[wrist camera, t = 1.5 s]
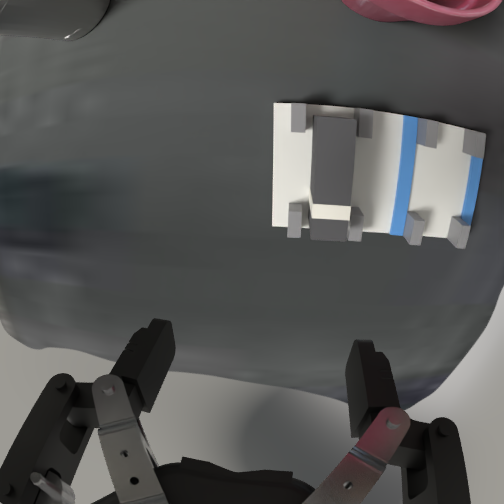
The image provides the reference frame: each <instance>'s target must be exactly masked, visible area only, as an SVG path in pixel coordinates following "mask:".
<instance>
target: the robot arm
mask: <svg viewBox="0 0 504 504" xmlns="http://www.w3.org/2000/svg"><path fill="white" fill-rule="evenodd" d="M109 2H110V0H0V36H17V37H32V38H44V39H53V40H61V41H72V40H76V39H79V38H81V37H83V36H84V35H86V34H87V33H88V32H90V31H91V30H92V29H93V28H94V27H95V26H96V25H97V24H98V22H99V21H100V20H101V18H102V17H103V15H104V14H105V12H106V10H107V7H108V5H109ZM174 356H175V340H174V335H173V329H172V324H171V321H168V320H162V319H156V318H154V319H153V320H152V321H151V323H150V325H149V326H148V328H141V329H140V330H138V331H137V332H136V333H134V334H133V336H132V337H131V339H130V341H129V343H128V344H127V346H126V347H125V350H123V352H122V354H121V355H120V357H119V359H118V360H117V362H116V364H115V365H114V367H113V369H112V370H111V372H110V373H109V374H108V375H103V376H101V377H99V378H97V380H95V382H94V383H79V382H75V380H74V378H73V377H72V376H71V375H69V374H65V373H61V374H57V375H55V376H53V377H52V378H51V379H50V380H49V382H48V383H47V385H46V387H45V388H44V390H43V391H42V393H41V395H40V396H39V398H38V400H37V401H36V403H35V405H34V407H33V408H32V410H31V412H30V413H29V415H28V417H27V419H26V420H25V422H24V424H23V426H22V428H21V429H20V431H19V433H18V435H17V437H16V439H15V441H14V443H13V445H12V446H11V448H10V450H9V452H8V454H7V456H6V458H5V460H4V462H3V464H2V466H1V468H0V502H1V503H2V504H75V494H74V492H73V490H72V488H71V487H70V485H71V483H72V480H73V478H74V475H75V473H76V470H77V468H78V465H79V463H80V460H81V458H82V455H83V453H84V451H85V448H86V446H87V444H88V441H89V439H90V437H91V434H92V432H93V430H94V428H100V429H98V435H99V439H100V443H101V447H102V450H103V453H104V457H105V460H106V464H107V466H108V470H109V473H110V476H111V479H112V482H113V485H114V488H115V492H113V493H111V494H109V495H107V496H105V497H103V498H101V499H100V500H97V501H95V502H94V503H92V504H360V503H361V502H362V501H363V499H364V498H365V497H366V495H367V494H368V493H369V492H370V490H371V489H372V487H373V486H374V485H375V483H376V482H377V480H378V479H379V478H380V476H381V475H382V474H383V472H384V470H385V468H386V465H387V464H390V465H395V466H400V467H401V474H402V492H403V504H471V501H470V493H469V486H468V480H467V473H466V467H465V462H464V456H463V452H462V447H461V442H460V437H459V433H458V429H457V426H456V425H455V423H454V422H452V421H451V420H450V419H448V418H444V417H441V418H436V419H435V420H433V421H432V422H431V423H430V424H429V423H423V422H419V421H415V420H412V419H410V418H409V416H408V414H407V413H406V412H405V411H404V410H402V409H401V408H400V404H399V400H398V395H397V391H396V387H395V383H394V379H393V375H392V372H391V367H390V363H389V360H388V359H387V358H386V356H385V355H384V354H383V352H375V348H374V344H373V341H372V340H355V341H354V343H353V346H352V349H351V352H350V355H349V358H348V361H347V364H346V371H345V377H346V386H347V396H348V406H349V417H350V429H351V437H352V438H353V437H354V438H355V437H359V441H358V442H357V444H356V445H355V446H354V447H353V448H352V449H351V450H350V451H349V452H348V454H347V455H346V456H345V458H344V459H343V460H342V461H341V462H340V463H339V464H338V466H337V467H336V468H335V469H334V470H333V471H332V472H331V474H330V475H329V476H328V477H327V478H326V479H325V480H324V481H323V482H322V483H321V484H320V486H319V487H318V488H317V489H316V490H315V489H314V488H313V487H312V486H310V485H308V484H307V483H305V482H303V481H301V480H298V479H295V478H292V475H293V472H289V471H274V470H259V471H249V472H233V471H230V470H227V469H225V468H222V467H220V466H217V465H215V464H213V463H210V462H206V461H201V460H196V459H192V458H187V457H182V460H181V463H169V464H165V465H162V466H159V465H158V463H157V461H156V458H155V456H154V454H153V452H152V450H151V448H150V445H149V443H148V440H147V438H146V435H145V433H144V430H143V427H142V425H141V422H140V420H139V416H140V413H141V411H144V412H148V413H150V411H151V409H152V406H153V405H154V402H155V400H156V397H157V395H158V393H159V391H160V388H161V386H162V384H163V381H164V379H165V377H166V375H167V372H168V370H169V368H170V365H171V363H172V361H173V359H174Z"/></svg>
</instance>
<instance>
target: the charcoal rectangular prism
mask: <svg viewBox="0 0 504 504" xmlns="http://www.w3.org/2000/svg"><path fill="white" fill-rule="evenodd" d="M356 128H357V120H356V119H350V118H342V117H331V116H317V115H313V130H312V158H311V180H310V188H309V214H308V221H309V230H310V238H311V240H325V241H342V242H346V239H347V231H348V223H349V220H350V212H351V195H352V185H353V174H354V161H355V146H356Z"/></svg>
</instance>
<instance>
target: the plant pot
mask: <svg viewBox="0 0 504 504" xmlns="http://www.w3.org/2000/svg"><path fill="white" fill-rule="evenodd" d="M341 1H342V2H343V3H344V4H345V5H346V6H348V7H349V8H350V9H352V10H353V11H355V12H356V13H358V14H360V15H362V16H364V17H366V18H369V19H372V20H376V21H381V22H396V21H408V20H412V21H415V22H419V23H424V24H429V25H439V26H446V25H455V24H460V23H463V22H467V21H470V20H473V19H476V18H479V17H482V16H484V15H486V14H488V13H490V12H492V11H494V10H495V9H496V8H497V7H498V6H499V5H500V3H501V2H502V0H341Z"/></svg>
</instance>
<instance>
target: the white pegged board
mask: <svg viewBox="0 0 504 504" xmlns="http://www.w3.org/2000/svg"><path fill="white" fill-rule="evenodd" d="M313 115H317V116H331V117H342V118H350V119H356V120H357V128H356V146H355V161H354V174H353V185H352V195H351V212H350V220H349V223H348V231H347V238H348V241H361V236H362V231H366V232H380V233H390V235H400V236H404V238H405V239H406V240H407V242H408V243H409V244H410V245H420V244H421V240H422V236H431V237H443V238H447V239H448V240H449V241H450V242H451V243H452V244H453V245H454V246H455V247H456V248H463V249H465V247H466V243H467V239H468V236H469V232H470V228H471V226H470V225H471V221H472V217H473V212H474V208H475V203H476V198H477V192H478V187H479V181H480V175H481V168H482V161H483V158H484V150H485V141H486V134H484V133H481V132H477V131H473V130H469V129H465V128H461V127H457V126H453V125H449V124H444V123H440V122H438V121H433V120H429V119H422V118H416V117H411V116H406V115H399V114H393V113H387V112H380V111H374V110H370V109H362V108H348V107H338V106H326V105H312V104H304V103H274V151H273V212H272V226H280V227H288V233H287V237H293V238H300V236H301V228H309V221H308V214H309V188H310V180H311V158H312V130H313Z"/></svg>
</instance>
